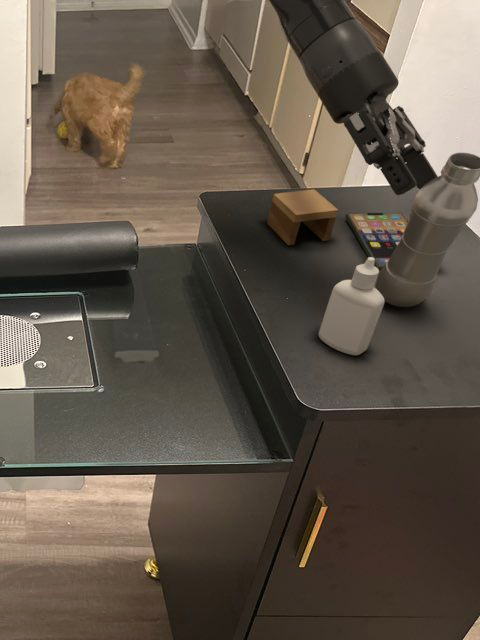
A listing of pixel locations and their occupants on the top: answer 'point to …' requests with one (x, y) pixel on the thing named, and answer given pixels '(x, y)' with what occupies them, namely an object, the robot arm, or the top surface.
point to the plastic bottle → (430, 232)
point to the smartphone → (378, 233)
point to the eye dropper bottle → (353, 311)
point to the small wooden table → (301, 214)
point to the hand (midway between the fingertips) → (419, 187)
